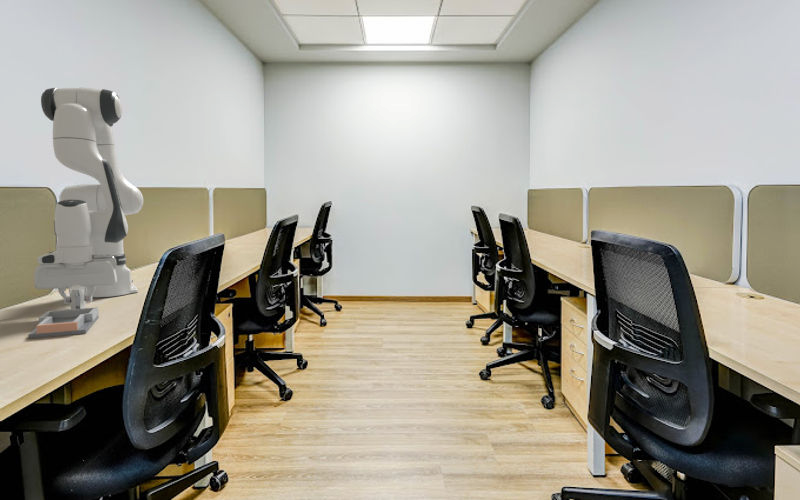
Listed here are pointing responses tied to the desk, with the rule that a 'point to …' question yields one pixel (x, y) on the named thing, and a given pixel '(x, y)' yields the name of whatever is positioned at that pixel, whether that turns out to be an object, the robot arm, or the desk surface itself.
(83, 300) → the milkshake
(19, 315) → the desk surface
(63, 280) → the robot arm
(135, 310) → the desk surface
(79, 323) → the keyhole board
